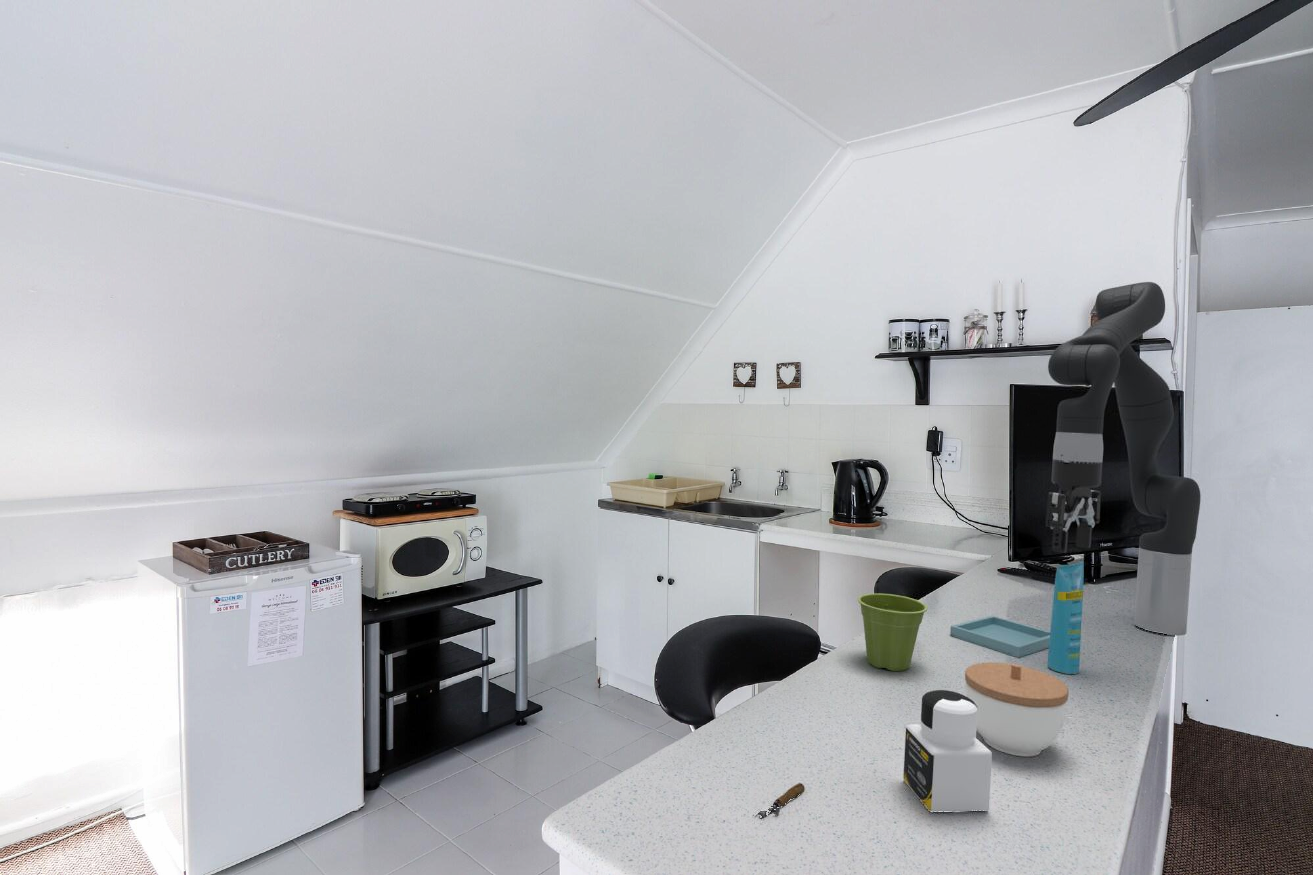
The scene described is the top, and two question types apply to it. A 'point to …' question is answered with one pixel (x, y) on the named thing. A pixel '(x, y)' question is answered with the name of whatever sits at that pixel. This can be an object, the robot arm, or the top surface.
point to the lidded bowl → (1016, 706)
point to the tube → (1066, 619)
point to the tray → (1002, 635)
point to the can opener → (785, 798)
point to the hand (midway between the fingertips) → (1071, 549)
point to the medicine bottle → (947, 755)
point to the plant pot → (890, 629)
